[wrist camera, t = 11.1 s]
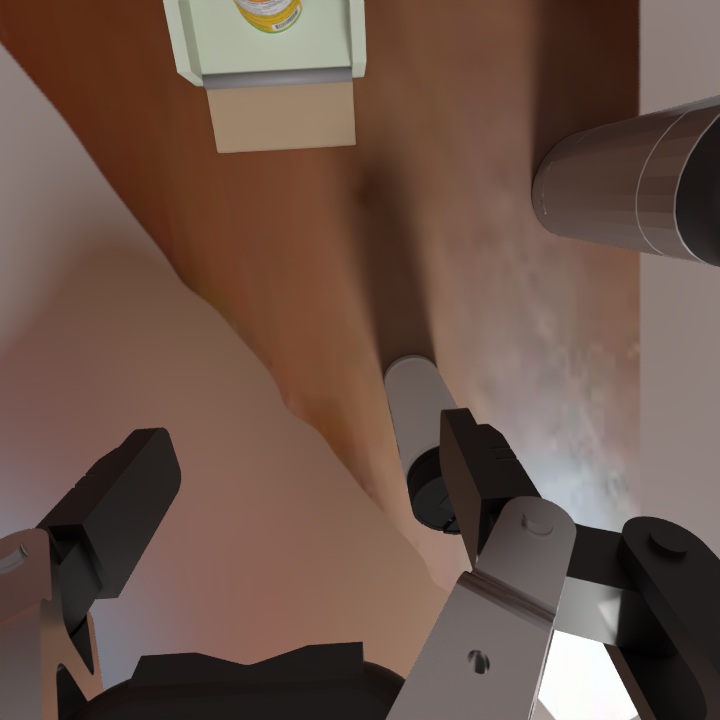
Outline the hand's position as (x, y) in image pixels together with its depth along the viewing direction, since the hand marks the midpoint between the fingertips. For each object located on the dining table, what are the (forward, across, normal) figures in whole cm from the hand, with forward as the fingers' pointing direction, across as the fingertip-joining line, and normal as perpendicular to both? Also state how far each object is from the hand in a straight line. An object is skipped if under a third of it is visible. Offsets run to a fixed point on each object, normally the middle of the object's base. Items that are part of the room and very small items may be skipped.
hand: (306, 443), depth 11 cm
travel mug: (+30, -7, +13) cm, 33 cm away
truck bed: (+30, +3, -19) cm, 35 cm away
